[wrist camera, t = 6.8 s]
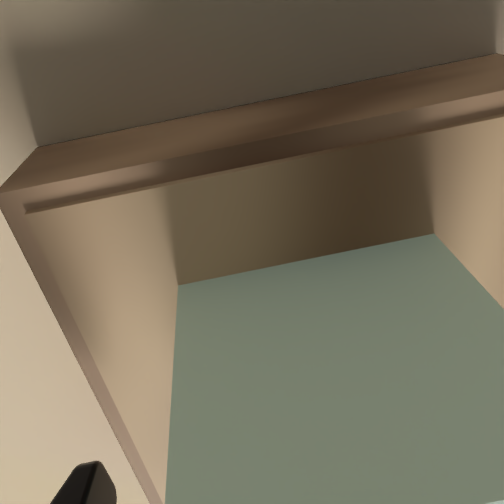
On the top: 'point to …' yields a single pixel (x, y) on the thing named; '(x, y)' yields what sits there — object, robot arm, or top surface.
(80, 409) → the top surface
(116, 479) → the top surface
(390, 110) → the square wooden tray
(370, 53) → the top surface
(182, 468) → the sage cube
